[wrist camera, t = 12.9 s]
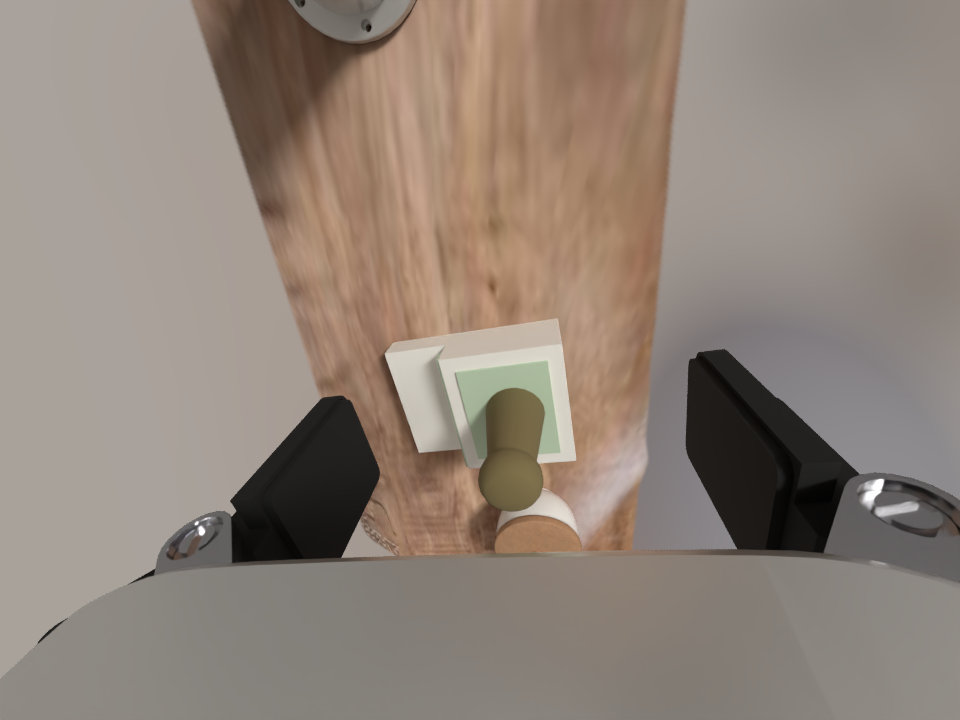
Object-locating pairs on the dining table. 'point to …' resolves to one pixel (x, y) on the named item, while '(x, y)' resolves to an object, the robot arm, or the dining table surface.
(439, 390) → the platform
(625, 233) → the dining table surface
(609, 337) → the dining table surface
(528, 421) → the cork
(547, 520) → the lidded jar
